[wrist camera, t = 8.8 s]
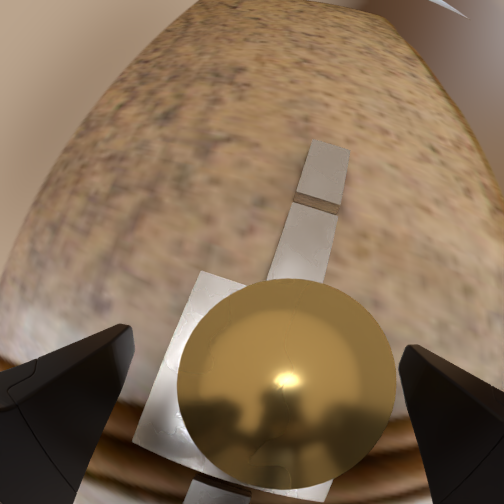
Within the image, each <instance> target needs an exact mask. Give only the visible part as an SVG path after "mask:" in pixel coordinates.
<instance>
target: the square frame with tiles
mask: <svg viewBox="0 0 504 504" xmlns="http://www.w3.org/2000/svg"><path fill="white" fill-rule="evenodd" d="M349 155H350V150H348V149H345V148H341V147H338V146H335V145H332V144H329V143H325V142H322V141H318V140H315V139H313V140H312V143H311V146H310V150H309V153H308V156H307V159H306V162H305V165H304V168H303V171H302V175H301V178H300V181H299V184H298V187H297V190H296V194H295V198H294V202H297V203H300V204H297V203H294V202H292V205H291V208H290V211H289V214H288V217H287V220H286V223H285V226H284V229H283V232H282V235H281V238H280V241H279V244H278V247H277V250H276V253H275V256H274V259H273V262H272V265H271V268H270V271H269V274H268V277H267V279H266V281H268V280H273V279H285V278H291V279H304V280H310V281H315V282H319V283H322V284H323V280H324V276H325V272H326V268H327V264H328V260H329V256H330V251H331V247H332V243H333V238H334V233H335V229H336V224H337V219H338V216H336V214H337V212H338V209H339V207H340V205H341V200H342V195H343V189H344V184H345V178H346V173H347V167H348V161H349ZM301 204H303V205H301ZM304 205H307V206H310V207H313V208H310V207H307V206H304ZM314 208H316V209H314ZM317 209H319V210H317ZM320 210H323V211H326V212H329V213H326V212H323V211H320ZM330 213H332V214H330ZM333 214H335V215H333ZM244 287H246V285H243V284H240V283H237V282H234V281H231V280H228V279H225V278H222V277H219V276H216V275H213V274H210V273H207V272H204V271H201V272H200V274H199V276H198V279H197V281H196V283H195V286H194V288H193V290H192V293H191V295H190V297H189V299H188V302H187V304H186V306H185V309H184V311H183V313H182V316H181V318H180V321H179V323H178V325H177V328H176V330H175V333H174V335H173V337H172V340H171V342H170V345H169V347H168V349H167V352H166V354H165V357H164V359H163V362H162V364H161V367H160V369H159V372H158V374H157V377H156V379H155V382H154V384H153V387H152V390H151V392H150V395H149V397H148V400H147V402H146V405H145V408H144V410H143V413H142V416H141V418H140V421H139V424H138V426H137V429H136V432H135V434H134V437H133V440H132V442H133V443H135V444H137V445H139V446H141V447H143V448H146V449H148V450H150V451H152V452H154V453H156V454H158V455H161V456H163V457H165V458H167V459H170V460H172V461H174V462H177V463H179V464H182V465H184V466H187V467H189V468H192V469H194V470H197V471H200V472H202V473H205V474H208V475H211V476H214V477H217V478H220V479H223V480H226V481H229V482H233V483H236V484H239V485H243V486H246V487H250V488H254V489H258V490H262V491H266V492H270V493H274V494H279V495H284V496H289V497H294V498H299V499H305V500H311V501H318V502H324V500H325V498H326V496H327V493H328V491H329V488H330V486H331V484H332V481H333V479H331V480H329V481H327V482H325V483H322V484H318V485H315V486H312V487H307V488H301V489H292V490H276V489H266V488H262V487H257V486H253V485H250V484H247V483H244V482H242V481H239V480H237V479H235V478H233V477H231V476H229V475H228V474H226V473H224V472H223V471H221V470H220V469H219V468H217V467H216V466H215V465H213V464H212V463H211V462H210V461H209V460H208V459H207V458H206V457H205V456H204V455H203V454H202V453H201V452H200V450H199V449H198V448H197V446H196V445H195V444H194V442H193V441H192V439H191V437H190V435H189V434H188V432H187V430H186V428H185V425H184V423H183V420H182V417H181V414H180V410H179V405H178V400H177V374H178V368H179V363H180V359H181V355H182V353H183V350H184V347H185V345H186V343H187V341H188V339H189V337H190V335H191V333H192V331H193V330H194V328H195V327H196V326H197V324H198V323H199V322H200V320H201V319H202V318H203V317H204V316H205V315H206V314H207V313H208V311H209V310H210V309H211V308H213V307H214V306H215V305H216V304H218V303H219V302H220V301H221V300H223V299H224V298H226V297H227V296H229V295H230V294H232V293H234V292H236V291H238V290H240V289H242V288H244ZM250 500H251V491H247V490H243V489H240V488H236V487H233V486H230V485H226V484H223V483H220V482H217V481H214V480H211V479H208V478H205V477H203V476H200V475H197V474H196V475H195V477H194V478H193V480H192V482H191V485H190V487H189V490H188V492H187V495H186V497H185V500H184V502H183V504H249V502H250Z"/></svg>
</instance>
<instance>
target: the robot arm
mask: <svg viewBox="0 0 504 504" xmlns="http://www.w3.org/2000/svg"><path fill="white" fill-rule="evenodd" d="M134 352H135V344H134V338H133V331H132V327H131V326H130V325H125V324H117V325H115V326H112V327H110V328H108V329H105V330H103V331H101V332H98V333H96V334H94V335H91V336H89V337H87V338H84V339H82V340H79V341H77V342H75V343H72V344H70V345H68V346H65V347H63V348H60V349H58V350H56V351H53V352H51V353H48V354H46V355H44V356H41V357H39V358H38V359H34V360H31V361H29V362H27V363H24V364H21V365H19V366H16V367H13V368H10V369H7V370H4V371H1V372H0V504H73V502H74V499H75V497H76V494H77V493H76V492H77V491H78V489H79V486H80V484H81V481H82V479H83V476H84V474H85V471H86V469H87V467H88V464H89V462H90V459H91V457H92V455H93V452H94V450H95V448H96V445H97V443H98V441H99V438H100V436H101V434H102V432H103V429H104V427H105V425H106V423H107V421H108V418H109V416H110V414H111V412H112V410H113V407H114V405H115V403H116V401H117V399H118V397H119V395H120V392H121V390H122V387H123V385H124V382H125V379H126V376H127V373H128V370H129V367H130V364H131V361H132V358H133V355H134ZM398 371H399V376H400V380H401V385H402V389H403V394H404V398H405V403H406V407H407V410H408V413H409V417H410V420H411V423H412V426H413V429H414V433H415V436H416V439H417V443H418V446H419V450H420V453H421V457H422V461H423V464H424V468H425V472H426V476H427V480H428V484H429V488H430V493H431V497H432V502H433V504H504V392H503V391H501V390H499V389H497V388H495V387H494V386H491V385H490V384H488V383H486V382H485V381H483V380H481V379H479V378H477V377H476V376H474V375H472V374H470V373H468V372H467V371H465V370H463V369H461V368H459V367H458V366H456V365H454V364H452V363H450V362H449V361H447V360H445V359H443V358H441V357H440V356H438V355H436V354H434V353H432V352H431V351H429V350H427V349H425V348H423V347H422V346H420V345H417V344H414V345H407V346H406V347H405V349H404V352H403V355H402V357H401V360H400V362H399V366H398Z"/></svg>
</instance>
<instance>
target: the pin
mask: <svg viewBox="0 0 504 504" xmlns="http://www.w3.org/2000/svg"><path fill="white" fill-rule="evenodd" d="M395 394H396V369H395V363H394V358H393V355H392V351H391V348H390V345H389V343H388V341H387V338H386V336H385V334H384V333H383V331H382V329H381V328H380V326H379V324H378V323H377V322H376V320H375V319H374V318H373V317H372V315H371V314H370V313H369V312H368V311H367V310H366V309H365V308H364V307H363V306H362V305H361V304H359V303H358V302H357V301H355V300H354V299H353V298H351V297H350V296H348V295H347V294H345V293H343V292H341V291H340V290H338V289H335V288H333V287H331V286H328V285H326V284H322V283H319V282H315V281H310V280H304V279H291V278H285V279H273V280H268V281H263V282H258V283H255V284H252V285H249V286H246V287H244V288H242V289H240V290H238V291H236V292H234V293H232V294H230V295H229V296H227V297H226V298H224V299H223V300H221V301H220V302H219V303H218V304H216V305H215V306H214V307H213V308H211V309H210V310H209V311H208V313H207V314H206V315H205V316H204V317H203V318H202V319H201V320H200V322H199V323H198V324H197V326H196V327H195V328H194V330H193V331H192V333H191V335H190V337H189V339H188V341H187V343H186V345H185V347H184V350H183V353H182V355H181V359H180V363H179V368H178V374H177V400H178V405H179V410H180V414H181V417H182V420H183V423H184V425H185V428H186V430H187V432H188V434H189V435H190V437H191V439H192V441H193V442H194V444H195V445H196V446H197V448H198V449H199V450H200V452H201V453H202V454H203V455H204V456H205V457H206V458H207V459H208V460H209V461H210V462H211V463H212V464H213V465H215V466H216V467H217V468H219V469H220V470H221V471H223V472H224V473H226V474H228V475H229V476H231V477H233V478H235V479H237V480H239V481H242V482H244V483H247V484H250V485H253V486H257V487H262V488H266V489H276V490H292V489H301V488H307V487H312V486H315V485H318V484H322V483H325V482H327V481H329V480H331V479H334V478H336V477H338V476H340V475H341V474H343V473H345V472H346V471H348V470H349V469H351V468H352V467H353V466H355V465H356V464H357V463H358V462H359V461H361V460H362V459H363V458H364V457H365V456H366V455H367V454H368V453H369V452H370V450H371V449H372V448H373V447H374V445H375V444H376V443H377V441H378V440H379V438H380V437H381V435H382V433H383V431H384V430H385V428H386V426H387V424H388V421H389V418H390V416H391V413H392V409H393V405H394V401H395Z"/></svg>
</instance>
